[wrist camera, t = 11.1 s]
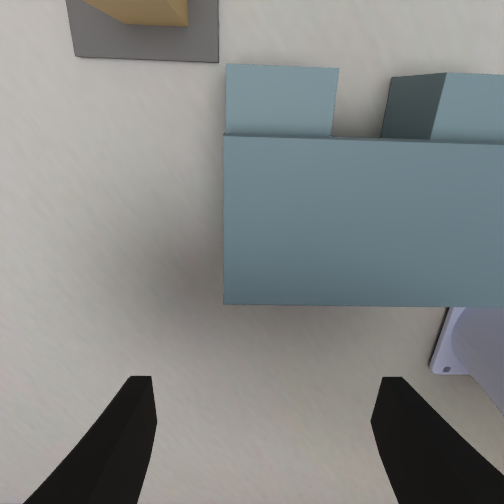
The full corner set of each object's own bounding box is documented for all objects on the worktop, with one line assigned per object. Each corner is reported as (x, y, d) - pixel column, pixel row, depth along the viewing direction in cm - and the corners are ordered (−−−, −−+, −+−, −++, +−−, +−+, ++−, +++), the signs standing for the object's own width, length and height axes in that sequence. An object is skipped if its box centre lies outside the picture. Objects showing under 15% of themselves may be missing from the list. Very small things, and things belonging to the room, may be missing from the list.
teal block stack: (471, 80, 15) (611, 74, 9) (426, 241, 19) (507, 307, 13) (230, 70, 15) (222, 58, 9) (229, 237, 18) (223, 304, 13)
